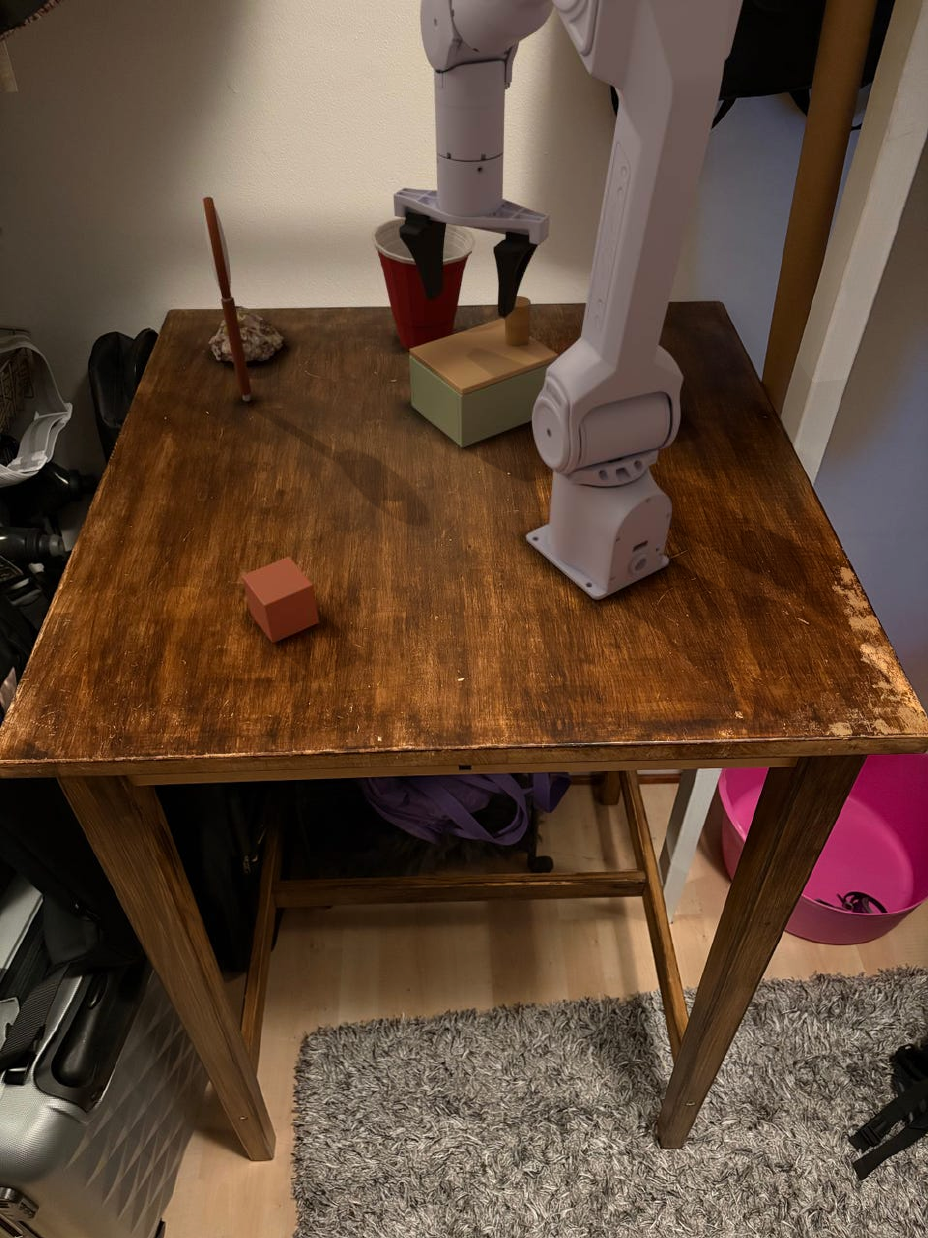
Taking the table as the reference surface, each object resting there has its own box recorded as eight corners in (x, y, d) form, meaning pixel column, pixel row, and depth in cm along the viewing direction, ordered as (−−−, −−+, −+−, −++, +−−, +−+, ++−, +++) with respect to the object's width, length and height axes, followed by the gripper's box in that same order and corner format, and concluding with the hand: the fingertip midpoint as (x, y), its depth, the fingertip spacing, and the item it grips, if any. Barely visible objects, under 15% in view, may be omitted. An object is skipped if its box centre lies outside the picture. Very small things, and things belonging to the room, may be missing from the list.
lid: (558, 360, 87) (561, 315, 84) (462, 395, 83) (461, 348, 80) (502, 323, 93) (503, 279, 90) (409, 354, 88) (407, 309, 85)
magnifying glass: (235, 381, 96) (195, 183, 82) (252, 378, 96) (214, 181, 82) (242, 424, 90) (200, 219, 76) (259, 422, 90) (221, 216, 76)
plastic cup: (455, 373, 97) (453, 262, 88) (363, 356, 100) (353, 247, 91) (488, 327, 104) (490, 221, 96) (402, 313, 107) (396, 208, 98)
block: (319, 622, 70) (313, 584, 67) (272, 643, 69) (264, 605, 66) (296, 593, 73) (289, 555, 70) (250, 613, 71) (241, 575, 68)
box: (553, 412, 91) (557, 361, 87) (461, 448, 87) (461, 396, 83) (500, 373, 97) (501, 324, 93) (411, 405, 92) (408, 355, 88)
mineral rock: (289, 342, 97) (211, 331, 94) (283, 380, 100) (208, 370, 97) (280, 301, 105) (208, 290, 102) (275, 337, 107) (205, 327, 105)
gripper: (567, 148, 77) (557, 302, 86) (418, 124, 81) (423, 272, 91) (533, 175, 72) (526, 334, 82) (377, 148, 77) (387, 301, 86)
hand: (470, 304), depth 86 cm, fingers open, 7 cm apart
